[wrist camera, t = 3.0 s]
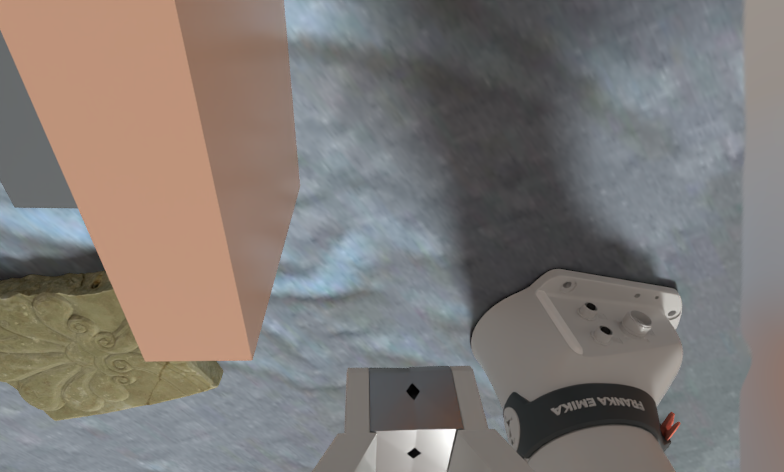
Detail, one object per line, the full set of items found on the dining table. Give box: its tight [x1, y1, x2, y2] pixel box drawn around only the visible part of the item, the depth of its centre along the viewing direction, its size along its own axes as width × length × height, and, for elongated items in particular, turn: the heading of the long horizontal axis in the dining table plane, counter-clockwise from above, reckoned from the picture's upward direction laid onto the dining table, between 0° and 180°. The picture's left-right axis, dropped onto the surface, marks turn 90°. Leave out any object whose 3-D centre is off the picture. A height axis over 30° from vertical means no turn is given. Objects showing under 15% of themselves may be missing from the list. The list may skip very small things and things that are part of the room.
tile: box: [0, 0, 300, 362], centre depth 23 cm, size 5×16×18 cm, turn 177°
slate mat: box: [0, 30, 78, 208], centre depth 29 cm, size 17×20×1 cm
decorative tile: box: [0, 270, 223, 421], centre depth 43 cm, size 19×20×4 cm
